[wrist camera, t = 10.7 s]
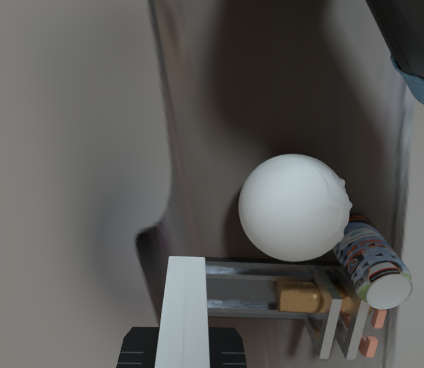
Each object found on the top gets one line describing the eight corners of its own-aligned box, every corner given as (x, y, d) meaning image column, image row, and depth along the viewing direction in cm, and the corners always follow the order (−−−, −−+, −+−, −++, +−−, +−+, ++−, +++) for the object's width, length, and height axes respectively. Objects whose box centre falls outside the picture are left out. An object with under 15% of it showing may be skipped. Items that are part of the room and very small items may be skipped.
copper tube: (273, 307, 49) (281, 316, 45) (275, 277, 50) (283, 283, 46) (357, 311, 50) (372, 319, 46) (358, 281, 51) (373, 287, 46)
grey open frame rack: (204, 257, 48) (204, 264, 47) (367, 263, 50) (373, 271, 48) (200, 311, 51) (200, 319, 50) (353, 315, 53) (358, 324, 51)
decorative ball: (337, 209, 47) (382, 257, 36) (253, 243, 48) (271, 300, 37) (309, 127, 43) (350, 152, 32) (218, 166, 44) (227, 203, 33)
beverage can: (366, 204, 47) (420, 250, 36) (371, 251, 49) (423, 308, 38) (319, 215, 47) (359, 265, 36) (326, 261, 50) (366, 322, 38)
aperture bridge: (352, 270, 49) (379, 307, 42) (359, 270, 49) (388, 307, 42) (340, 317, 52) (365, 360, 44) (347, 317, 52) (372, 360, 44)
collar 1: (313, 265, 49) (332, 299, 42) (321, 265, 49) (342, 299, 42) (302, 319, 51) (319, 358, 45) (310, 319, 52) (328, 358, 45)
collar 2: (338, 266, 49) (361, 300, 42) (346, 266, 49) (371, 300, 42) (326, 319, 52) (346, 359, 45) (334, 319, 52) (355, 359, 45)
